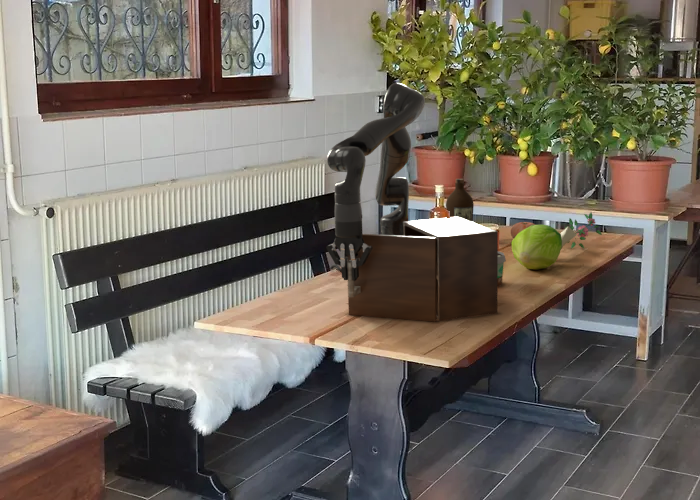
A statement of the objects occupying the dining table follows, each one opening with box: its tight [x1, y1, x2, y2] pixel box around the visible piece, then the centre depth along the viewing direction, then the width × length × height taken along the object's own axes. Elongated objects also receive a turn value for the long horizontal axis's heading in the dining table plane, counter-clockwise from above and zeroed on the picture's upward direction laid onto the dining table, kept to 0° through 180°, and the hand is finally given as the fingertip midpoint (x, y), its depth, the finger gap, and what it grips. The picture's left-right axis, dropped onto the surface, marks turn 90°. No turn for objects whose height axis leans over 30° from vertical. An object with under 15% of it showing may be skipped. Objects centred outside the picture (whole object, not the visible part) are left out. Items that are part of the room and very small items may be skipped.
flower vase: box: [559, 211, 603, 250], centre depth 342 cm, size 12×12×35 cm
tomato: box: [510, 221, 536, 240], centre depth 362 cm, size 11×11×8 cm
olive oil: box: [445, 178, 475, 222], centre depth 361 cm, size 11×11×25 cm
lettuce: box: [511, 223, 563, 271], centre depth 317 cm, size 17×20×15 cm
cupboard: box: [403, 217, 499, 322], centre depth 273 cm, size 18×26×24 cm
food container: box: [497, 250, 507, 288], centre depth 298 cm, size 12×6×10 cm, turn 168°
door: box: [347, 233, 438, 323], centre depth 260 cm, size 7×26×24 cm, turn 68°
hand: (350, 279), depth 261 cm, fingers closed on door, 2 cm apart
